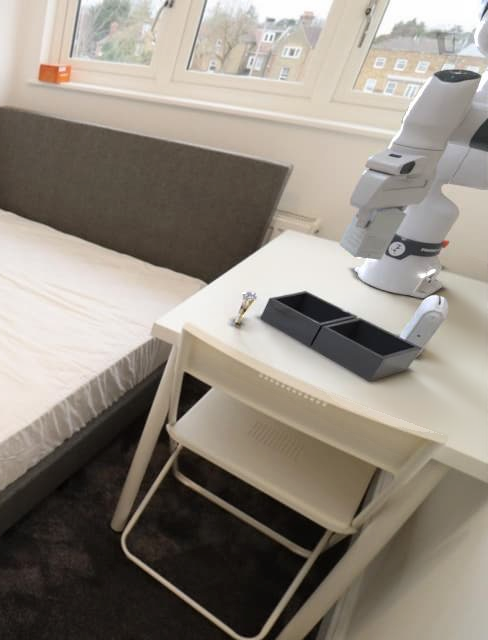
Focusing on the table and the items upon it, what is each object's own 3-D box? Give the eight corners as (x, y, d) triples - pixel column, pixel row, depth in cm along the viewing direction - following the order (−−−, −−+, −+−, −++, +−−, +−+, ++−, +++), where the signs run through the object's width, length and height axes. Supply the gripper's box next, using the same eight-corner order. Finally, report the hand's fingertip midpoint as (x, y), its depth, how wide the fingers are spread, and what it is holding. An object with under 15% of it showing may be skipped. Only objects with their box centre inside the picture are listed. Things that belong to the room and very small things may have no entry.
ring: (240, 330, 117) (254, 300, 113) (226, 325, 119) (239, 295, 115) (248, 319, 122) (262, 290, 117) (235, 315, 124) (247, 285, 119)
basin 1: (295, 310, 127) (305, 290, 124) (345, 337, 117) (358, 316, 114) (259, 318, 123) (269, 298, 120) (308, 346, 113) (320, 325, 110)
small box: (380, 260, 112) (408, 214, 106) (353, 257, 112) (378, 211, 106) (363, 247, 118) (388, 202, 112) (338, 244, 119) (361, 199, 113)
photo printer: (418, 360, 111) (453, 311, 103) (394, 352, 113) (427, 303, 106) (420, 342, 117) (453, 294, 110) (397, 335, 119) (429, 288, 112)
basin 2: (347, 338, 117) (359, 317, 114) (407, 369, 107) (422, 347, 104) (310, 347, 113) (322, 326, 109) (369, 381, 103) (384, 358, 100)
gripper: (423, 155, 109) (388, 217, 117) (362, 158, 103) (329, 224, 110) (456, 162, 105) (417, 226, 113) (394, 166, 98) (358, 234, 106)
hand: (373, 225), depth 111 cm, fingers closed on small box, 8 cm apart
